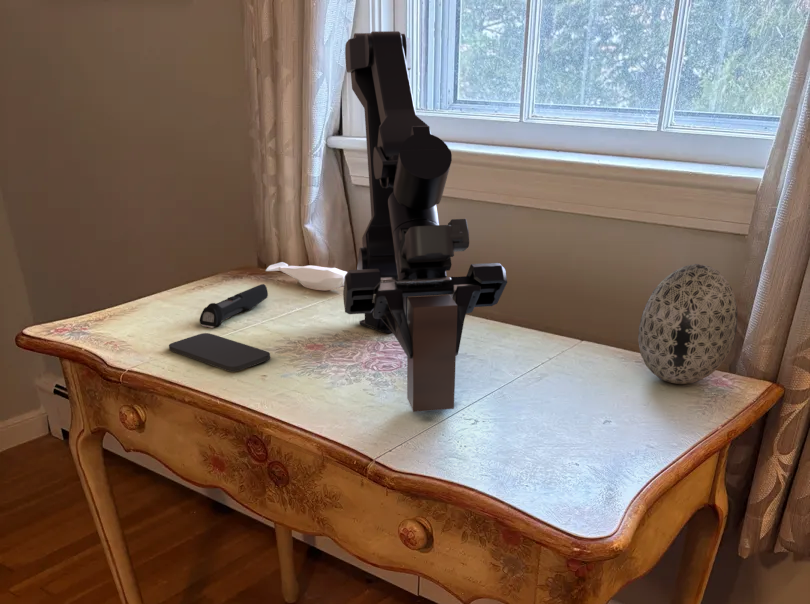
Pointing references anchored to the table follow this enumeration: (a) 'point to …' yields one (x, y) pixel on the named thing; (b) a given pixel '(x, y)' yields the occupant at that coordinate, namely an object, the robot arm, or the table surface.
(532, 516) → the table surface
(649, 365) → the decorative egg
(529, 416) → the table surface
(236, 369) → the phone
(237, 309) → the electric trimmer
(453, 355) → the walnut block
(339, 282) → the white fish figurine
